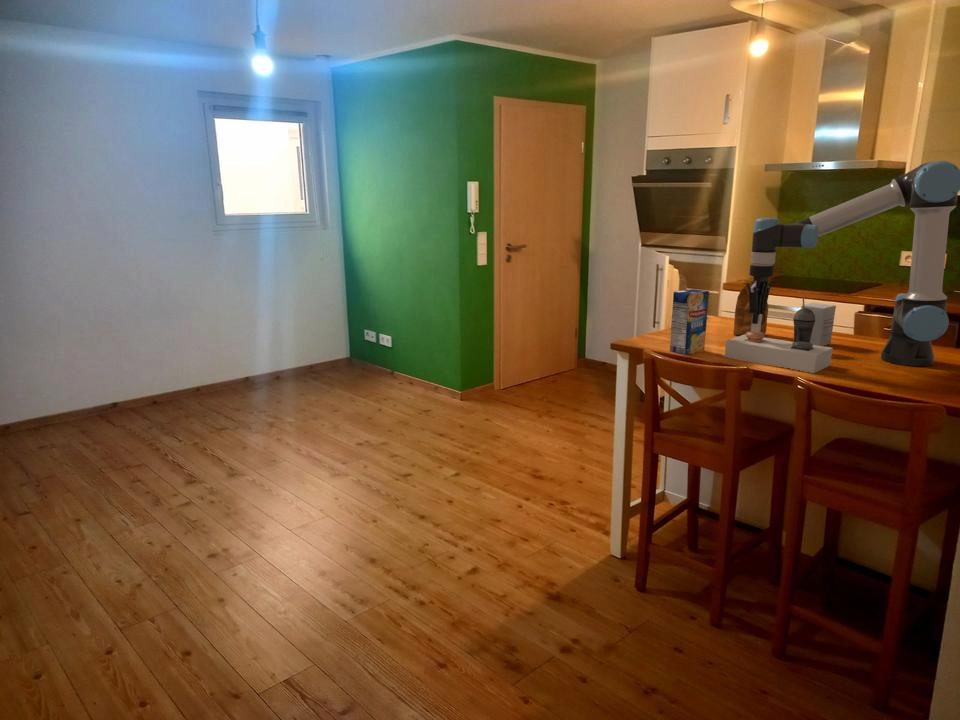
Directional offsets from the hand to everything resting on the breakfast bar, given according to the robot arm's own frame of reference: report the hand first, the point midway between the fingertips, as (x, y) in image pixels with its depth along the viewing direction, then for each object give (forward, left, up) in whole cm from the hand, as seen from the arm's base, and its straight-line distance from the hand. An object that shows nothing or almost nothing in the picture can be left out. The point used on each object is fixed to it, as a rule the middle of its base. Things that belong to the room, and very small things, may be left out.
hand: (755, 332), depth 225 cm
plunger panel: (-8, 0, -9) cm, 12 cm away
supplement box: (-7, -36, -9) cm, 38 cm away
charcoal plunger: (-16, 0, -7) cm, 18 cm away
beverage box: (+21, +8, -9) cm, 24 cm away
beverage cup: (-8, -21, -9) cm, 24 cm away
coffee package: (+17, -34, -9) cm, 39 cm away
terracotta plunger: (0, 0, -6) cm, 6 cm away
